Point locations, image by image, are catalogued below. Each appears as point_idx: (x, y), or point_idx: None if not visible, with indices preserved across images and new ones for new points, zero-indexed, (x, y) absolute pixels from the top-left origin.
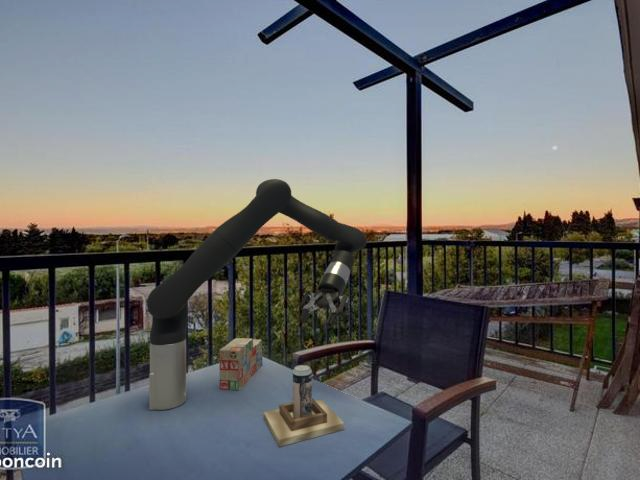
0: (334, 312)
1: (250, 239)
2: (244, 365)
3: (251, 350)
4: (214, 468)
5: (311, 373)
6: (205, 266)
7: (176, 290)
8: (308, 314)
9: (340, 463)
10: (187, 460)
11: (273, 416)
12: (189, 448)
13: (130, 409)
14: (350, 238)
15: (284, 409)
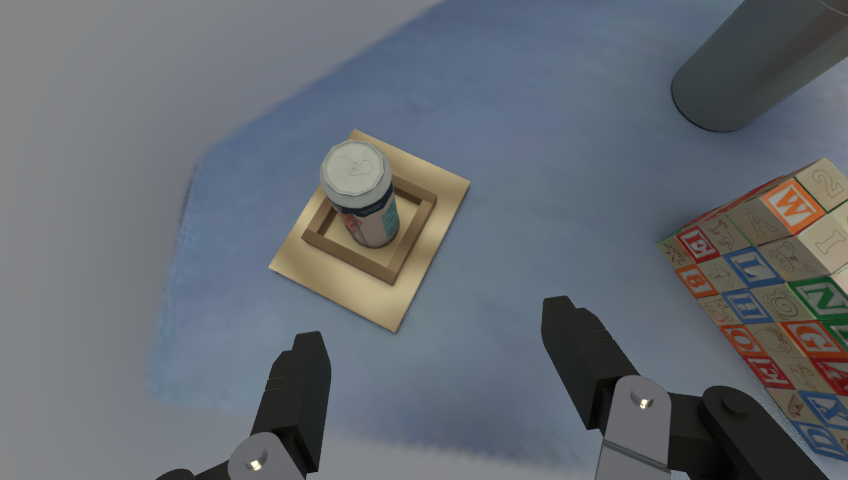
0: (243, 443)
1: None
2: (733, 271)
3: (832, 345)
4: (405, 38)
5: (322, 188)
6: None
7: None
8: (581, 409)
9: (222, 171)
10: (460, 24)
11: (435, 182)
12: (490, 40)
13: None
14: None
15: (408, 186)
